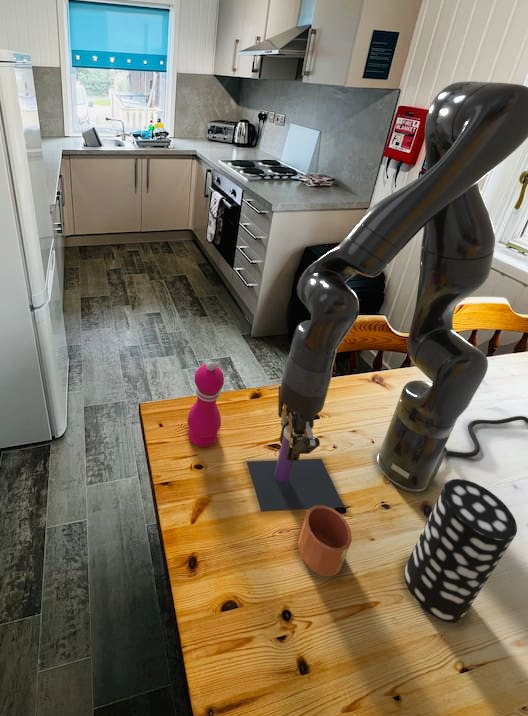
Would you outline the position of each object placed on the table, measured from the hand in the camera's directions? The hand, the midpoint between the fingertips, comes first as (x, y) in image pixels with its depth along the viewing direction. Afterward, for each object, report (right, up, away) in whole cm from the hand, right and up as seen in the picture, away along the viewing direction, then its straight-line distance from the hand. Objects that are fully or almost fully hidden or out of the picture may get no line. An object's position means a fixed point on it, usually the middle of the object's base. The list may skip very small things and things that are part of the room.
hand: (288, 450), depth 74 cm
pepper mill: (-15, -3, +12) cm, 20 cm away
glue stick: (0, -7, +3) cm, 7 cm away
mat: (+2, -8, +3) cm, 9 cm away
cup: (+3, -13, -8) cm, 16 cm away
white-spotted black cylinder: (+19, -16, -12) cm, 28 cm away
